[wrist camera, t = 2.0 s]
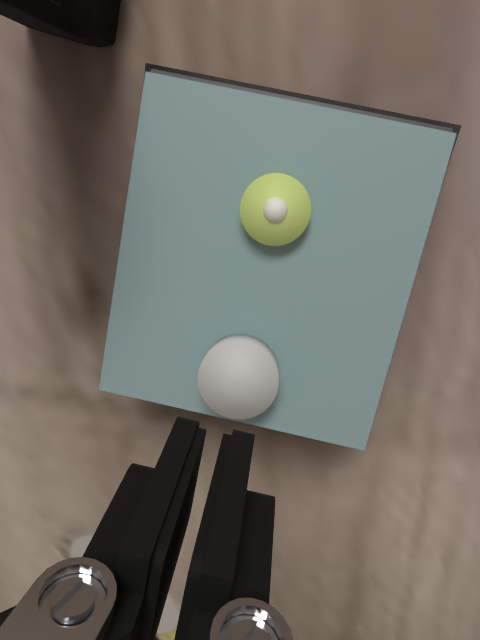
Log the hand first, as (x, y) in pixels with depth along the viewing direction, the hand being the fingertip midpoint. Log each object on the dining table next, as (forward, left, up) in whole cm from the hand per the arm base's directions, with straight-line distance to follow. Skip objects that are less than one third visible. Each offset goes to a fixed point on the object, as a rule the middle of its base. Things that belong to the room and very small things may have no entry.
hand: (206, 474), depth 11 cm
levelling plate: (0, 0, -19) cm, 19 cm away
